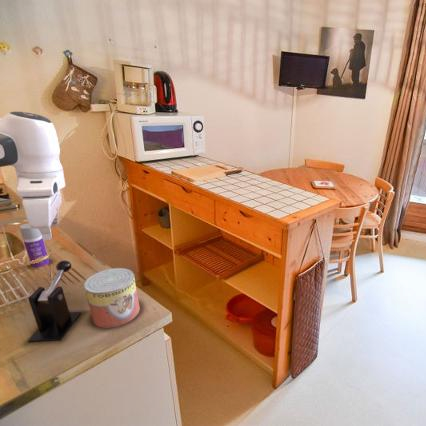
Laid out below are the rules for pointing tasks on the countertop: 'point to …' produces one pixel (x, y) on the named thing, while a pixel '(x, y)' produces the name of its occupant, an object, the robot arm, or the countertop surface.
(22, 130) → the robot arm
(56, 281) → the lever
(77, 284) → the countertop surface
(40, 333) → the bracket
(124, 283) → the canned food
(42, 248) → the container
